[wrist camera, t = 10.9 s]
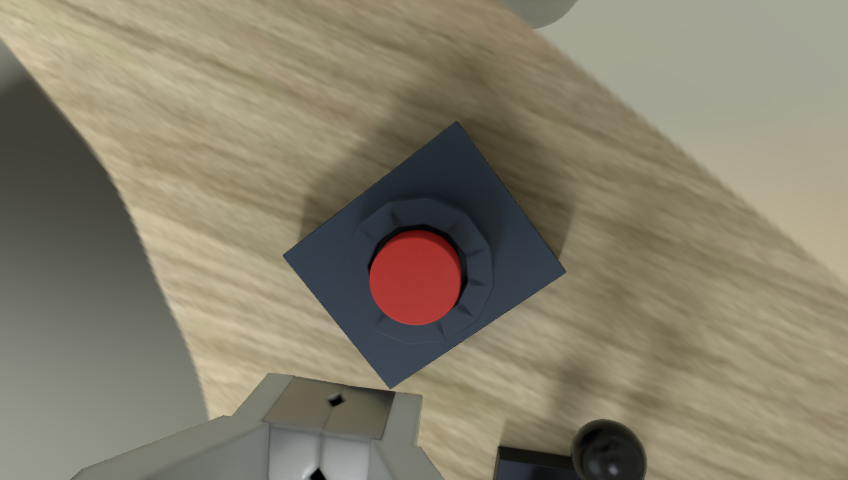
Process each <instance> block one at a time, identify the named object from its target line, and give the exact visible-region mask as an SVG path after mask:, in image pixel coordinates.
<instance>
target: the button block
mask: <svg viewBox="0 0 848 480" xmlns="http://www.w3.org/2000/svg"><path fill="white" fill-rule="evenodd" d="M410 230H425V231H430V232H432V233H435V234H437V235H439V236H441V237H442V238H444V239H445V240H446V241H447V242H449V243H450V245H451V246H452V247H453V248H454V250H455V251H456V253H457V255H458V258H459V261H460V265H461V285H460V292H459V296H458V298H457V301H456V302H455V304H454V306H453V307H452V308H451V310H450V311H449V312H448V313H447V314H446V315H444V316H443V317H442V318H440V319H438V320H437V321H434V322H432V323H428V324H424V325H409V324H404V323H401V322H398V321H396V320H394V319H392V318H391V317H389V316H388V315H386V314H385V313H384V312H383V311H382V310H381V309H380V308H379V306H378V305H377V303H376V302H375V300H374V298H373V296H372V293H371V289H370V283H369V277H370V270H371V266H372V264H373V261H374V259H375V258H376V256H377V255H378V253H379V252H380V251H381V249H382V248H383V247H384V245H385V244H386V243H387V242H388V241H389V240H390V239H392V238H393V237H395V236H396V235H398V234H400V233H402V232H406V231H410ZM283 257H284V258H285V259H286V261H287V262H288V263H289V264H290V266H291V267H292V268H293V269H294V271H295V272H296V273H297V274H298V276H299V277H300V278H301V279H302V281H303V282H304V283H305V284H306V286H307V287H308V288H309V289H310V290H311V292H312V293H313V294H314V295H315V297H316V298H317V299H318V300H319V302H320V303H321V304H322V305H323V307H324V308H325V309H326V310H327V312H328V313H329V314H330V315H331V317H332V318H333V319H334V320H335V322H336V323H337V324H338V325H339V326H340V328H341V329H342V330H343V331H344V333H345V334H346V335H347V336H348V338H349V339H350V340H351V341H352V343H353V344H354V345H355V346H356V348H357V349H358V350H359V351H360V353H361V354H362V355H363V356H364V358H365V359H366V360H367V361H368V363H369V364H370V365H371V366H372V367H373V369H374V370H375V371H376V372H377V374H378V375H379V376H380V377H381V379H382V380H383V381H384V382H385V384H386V385H387V386H388V387H389V389H391V388H393V387H394V386H396V385H398V384H399V383H401V382H402V381H404V380H405V379H407V378H408V377H410V376H411V375H413V374H414V373H416V372H417V371H419V370H420V369H422V368H423V367H425V366H426V365H428V364H429V363H431V362H432V361H434V360H435V359H437V358H438V357H440V356H441V355H443V354H444V353H446V352H447V351H449V350H450V349H452V348H453V347H455V346H456V345H458V344H459V343H461V342H462V341H464V340H465V339H467V338H468V337H470V336H471V335H473V334H474V333H476V332H477V331H479V330H480V329H482V328H483V327H485V326H486V325H488V324H489V323H491V322H492V321H494V320H495V319H497V318H498V317H500V316H501V315H503V314H504V313H506V312H507V311H509V310H510V309H512V308H514V307H515V306H517V305H518V304H520V303H521V302H523V301H524V300H526V299H527V298H529V297H530V296H532V295H533V294H535V293H536V292H538V291H539V290H541V289H542V288H544V287H545V286H547V285H548V284H550V283H551V282H553V281H554V280H556V279H557V278H559V277H560V276H562V275H563V274H565V273H566V270H565V269H564V267H563V266H562V265H561V263H560V262H559V260H558V259H557V258H556V256H555V255H554V254H553V252H552V251H551V249H550V248H549V247H548V245H547V244H546V243H545V241H544V240H543V238H542V237H541V236H540V234H539V233H538V232H537V230H536V229H535V227H534V226H533V225H532V223H531V222H530V221H529V219H528V218H527V216H526V215H525V214H524V212H523V211H522V210H521V208H520V207H519V205H518V204H517V203H516V201H515V200H514V199H513V197H512V196H511V194H510V193H509V192H508V190H507V189H506V188H505V186H504V185H503V183H502V182H501V181H500V179H499V178H498V177H497V175H496V174H495V172H494V171H493V170H492V168H491V167H490V166H489V164H488V163H487V161H486V160H485V159H484V157H483V156H482V155H481V153H480V152H479V150H478V149H477V148H476V146H475V145H474V144H473V142H472V141H471V139H470V138H469V137H468V135H467V134H466V132H465V131H464V130H463V128H462V127H461V126H460V124H459V123H458V122H457V121H456V122H454V123H453V124H452V125H451V126H449V127H448V128H447V129H445V130H444V131H443V132H441V133H440V134H439V135H438V136H436V137H435V138H434V139H432V140H431V141H430V142H429V143H427V144H426V145H425V146H423V147H422V148H421V149H419V150H418V151H417V152H416V153H414V154H413V155H412V156H410V157H409V158H408V159H407V160H405V161H404V162H403V163H401V164H400V165H399V166H397V167H396V168H395V169H394V170H392V171H391V172H390V173H388V174H387V175H386V176H385V177H383V178H382V179H381V180H379V181H378V182H377V183H375V184H374V185H373V186H372V187H370V188H369V189H368V190H366V191H365V192H364V193H363V194H361V195H360V196H359V197H357V198H356V199H355V200H353V201H352V202H351V203H350V204H348V205H347V206H346V207H344V208H343V209H342V210H341V211H339V212H338V213H337V214H335V215H334V216H333V217H331V218H330V219H329V220H328V221H326V222H325V223H324V224H322V225H321V226H320V227H319V228H317V229H316V230H315V231H313V232H312V233H311V234H309V235H308V236H307V237H306V238H304V239H303V240H302V241H300V242H299V243H298V244H296V245H295V246H294V247H293V248H291V249H290V250H289V251H287V252H286V253H285V254H284V255H283Z"/></svg>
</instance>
